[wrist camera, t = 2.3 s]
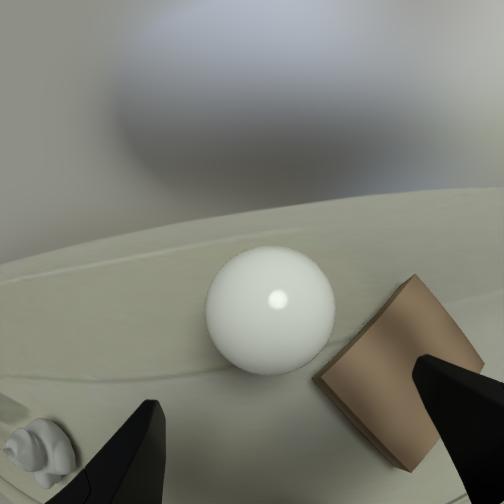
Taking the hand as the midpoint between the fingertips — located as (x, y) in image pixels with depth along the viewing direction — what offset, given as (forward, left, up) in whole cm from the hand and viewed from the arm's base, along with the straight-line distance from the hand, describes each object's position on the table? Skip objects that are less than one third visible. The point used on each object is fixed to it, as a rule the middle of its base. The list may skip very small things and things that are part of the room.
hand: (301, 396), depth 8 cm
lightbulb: (+2, +3, -12) cm, 13 cm away
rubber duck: (-19, +4, -12) cm, 23 cm away
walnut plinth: (+9, -8, -12) cm, 17 cm away
